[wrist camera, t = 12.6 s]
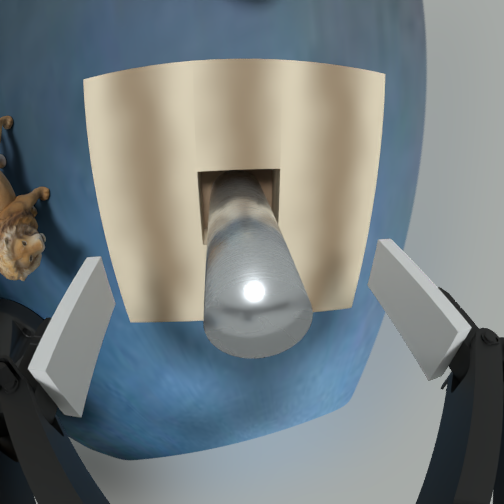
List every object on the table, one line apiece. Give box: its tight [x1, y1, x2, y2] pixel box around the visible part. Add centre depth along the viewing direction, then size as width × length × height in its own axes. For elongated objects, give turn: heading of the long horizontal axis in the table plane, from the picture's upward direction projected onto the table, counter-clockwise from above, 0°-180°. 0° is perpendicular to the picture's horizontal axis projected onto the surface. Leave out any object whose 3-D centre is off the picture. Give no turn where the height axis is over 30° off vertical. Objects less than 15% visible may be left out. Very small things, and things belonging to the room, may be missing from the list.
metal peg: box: [203, 170, 313, 358], centre depth 17 cm, size 4×4×14 cm
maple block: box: [84, 59, 385, 322], centre depth 22 cm, size 20×20×4 cm
